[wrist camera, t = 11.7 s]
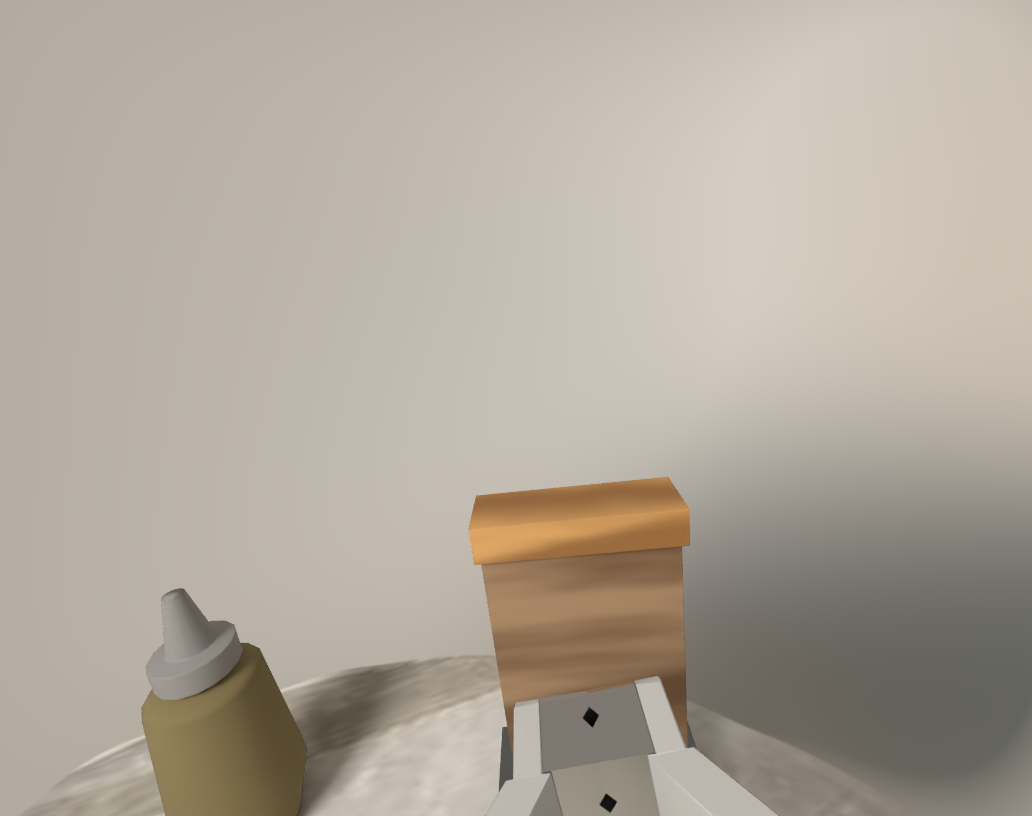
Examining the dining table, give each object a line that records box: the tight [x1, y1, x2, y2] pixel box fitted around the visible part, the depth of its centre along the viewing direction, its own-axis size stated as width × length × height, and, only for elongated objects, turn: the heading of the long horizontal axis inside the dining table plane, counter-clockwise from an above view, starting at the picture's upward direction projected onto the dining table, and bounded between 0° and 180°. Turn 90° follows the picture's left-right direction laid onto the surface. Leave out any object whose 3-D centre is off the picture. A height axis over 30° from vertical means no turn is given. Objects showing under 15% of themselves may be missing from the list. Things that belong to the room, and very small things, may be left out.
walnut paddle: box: [468, 477, 690, 758], centre depth 28 cm, size 4×11×21 cm, turn 89°
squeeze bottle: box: [142, 589, 307, 816], centre depth 30 cm, size 8×8×18 cm
